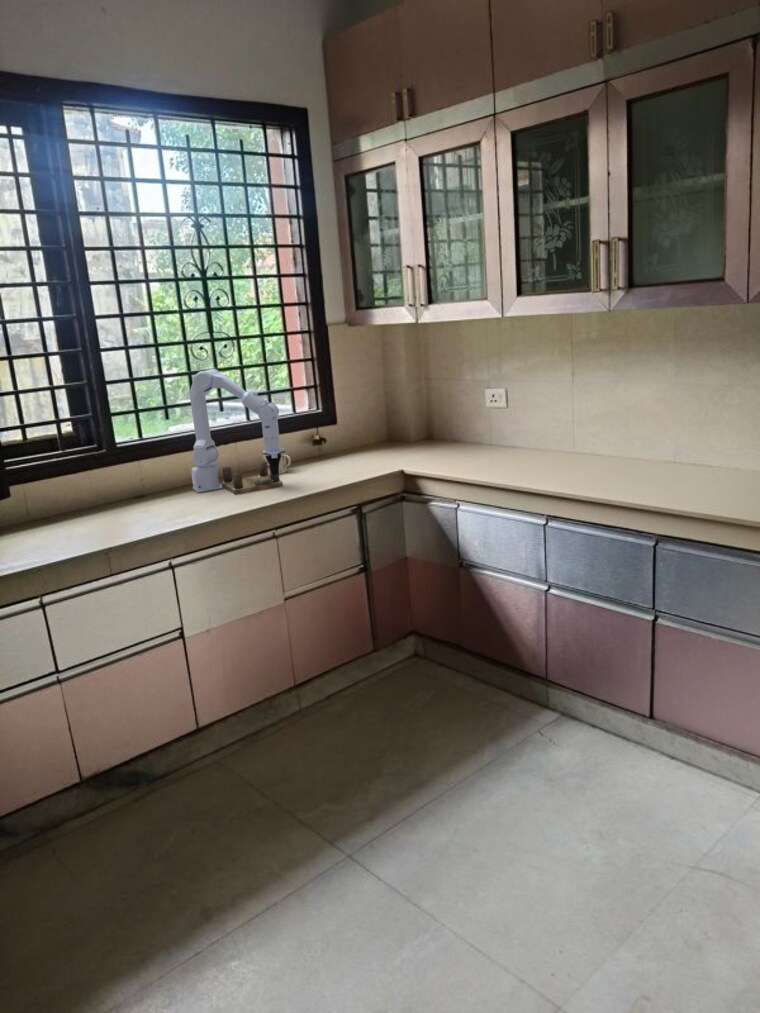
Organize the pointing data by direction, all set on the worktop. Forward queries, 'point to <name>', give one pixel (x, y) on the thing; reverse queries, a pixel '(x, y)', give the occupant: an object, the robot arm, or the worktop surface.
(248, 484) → the peg board with pegs
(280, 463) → the teacup with lid
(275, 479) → the crank handle
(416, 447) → the worktop surface
